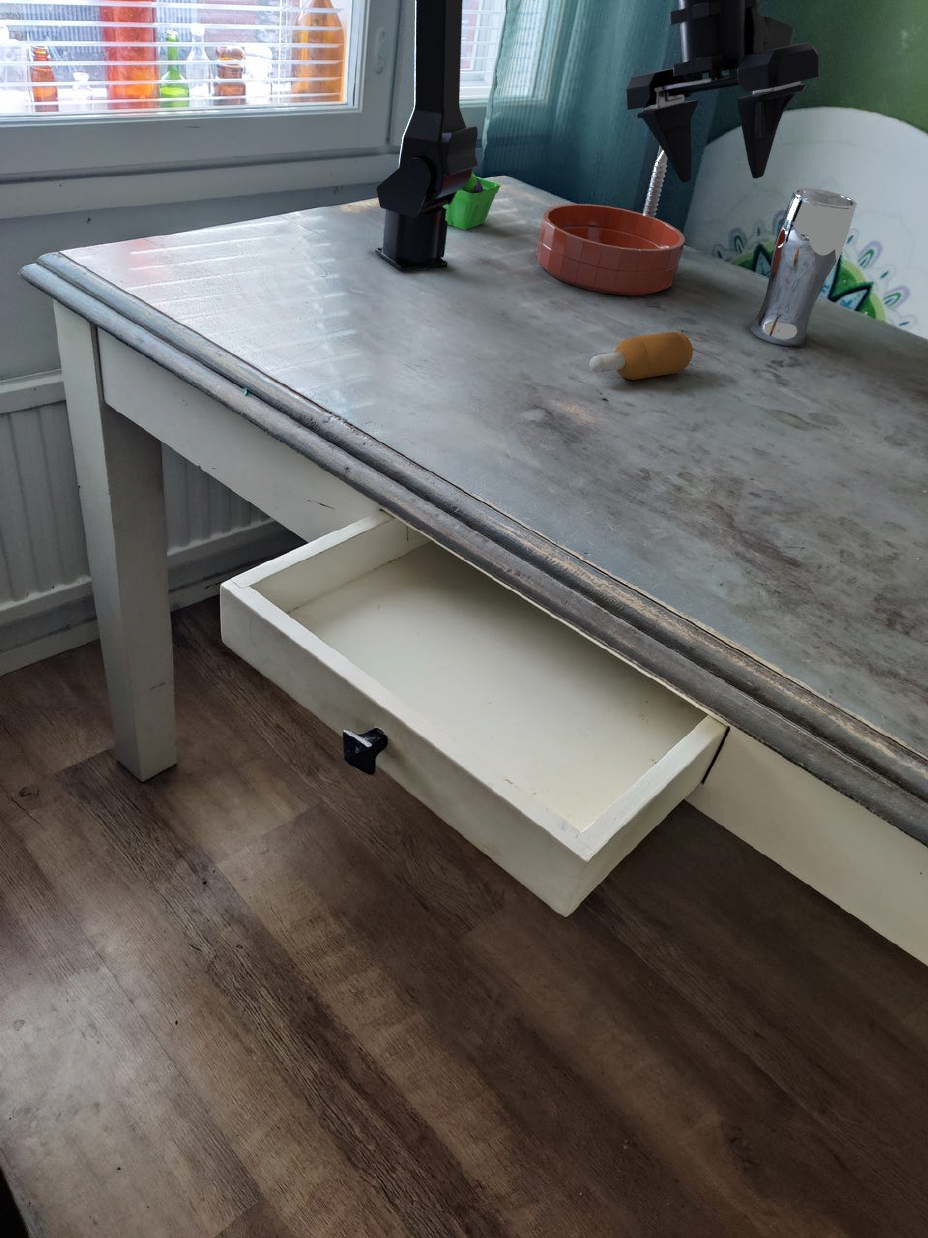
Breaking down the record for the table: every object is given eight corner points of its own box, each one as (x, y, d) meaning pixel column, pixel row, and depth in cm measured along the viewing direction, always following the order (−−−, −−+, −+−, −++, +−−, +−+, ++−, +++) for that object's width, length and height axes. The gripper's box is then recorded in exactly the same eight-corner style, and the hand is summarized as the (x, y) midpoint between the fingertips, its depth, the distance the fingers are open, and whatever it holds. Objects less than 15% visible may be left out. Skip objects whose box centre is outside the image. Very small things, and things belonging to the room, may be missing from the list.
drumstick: (668, 361, 98) (678, 323, 96) (694, 377, 96) (706, 339, 93) (574, 375, 92) (583, 336, 90) (599, 393, 90) (609, 353, 87)
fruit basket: (497, 223, 128) (511, 132, 121) (463, 236, 122) (475, 140, 115) (427, 201, 132) (436, 111, 125) (390, 212, 126) (397, 118, 119)
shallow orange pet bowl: (628, 308, 109) (640, 260, 105) (508, 262, 116) (515, 215, 113) (696, 280, 120) (708, 235, 117) (582, 239, 127) (591, 196, 124)
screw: (618, 237, 130) (650, 239, 132) (632, 249, 127) (664, 251, 128) (641, 133, 122) (675, 136, 124) (656, 143, 119) (691, 146, 120)
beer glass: (809, 332, 110) (859, 196, 101) (806, 353, 105) (858, 211, 96) (749, 318, 111) (793, 182, 102) (744, 337, 106) (789, 196, 97)
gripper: (861, -46, 80) (858, 156, 88) (699, -3, 95) (708, 167, 102) (770, -30, 76) (776, 182, 83) (614, 13, 90) (631, 190, 98)
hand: (720, 179), depth 92 cm, fingers open, 9 cm apart
